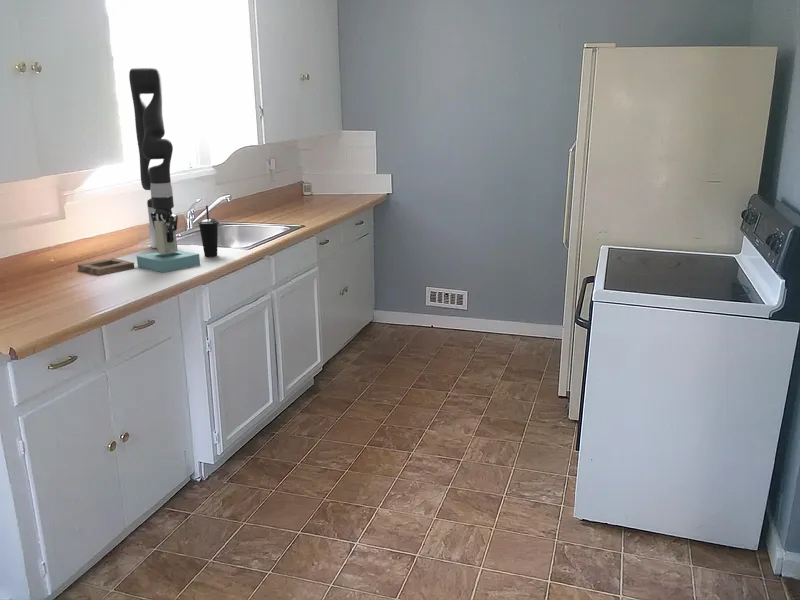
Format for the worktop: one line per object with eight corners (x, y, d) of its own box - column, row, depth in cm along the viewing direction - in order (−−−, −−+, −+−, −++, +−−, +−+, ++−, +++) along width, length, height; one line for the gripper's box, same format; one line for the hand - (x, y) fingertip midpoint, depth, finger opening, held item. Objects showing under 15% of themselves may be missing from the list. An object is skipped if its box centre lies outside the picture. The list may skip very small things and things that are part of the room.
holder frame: (78, 270, 255) (77, 264, 255) (113, 263, 266) (113, 258, 266) (98, 275, 247) (98, 269, 247) (134, 268, 258) (133, 262, 257)
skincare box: (171, 250, 264) (168, 218, 260) (178, 252, 261) (175, 219, 258) (156, 253, 259) (153, 220, 256) (163, 254, 256) (160, 222, 253)
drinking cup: (201, 258, 273) (196, 207, 267) (201, 254, 280) (196, 204, 274) (221, 257, 274) (217, 206, 269) (220, 253, 282) (216, 203, 276)
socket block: (137, 266, 260) (136, 256, 259) (174, 259, 272) (173, 249, 271) (163, 272, 250) (162, 261, 249) (200, 264, 263) (199, 253, 262)
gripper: (141, 194, 256) (146, 241, 260) (164, 197, 247) (169, 245, 252) (159, 192, 261) (164, 237, 266) (182, 195, 253) (186, 242, 257)
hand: (166, 241), depth 259 cm, fingers closed on skincare box, 4 cm apart
